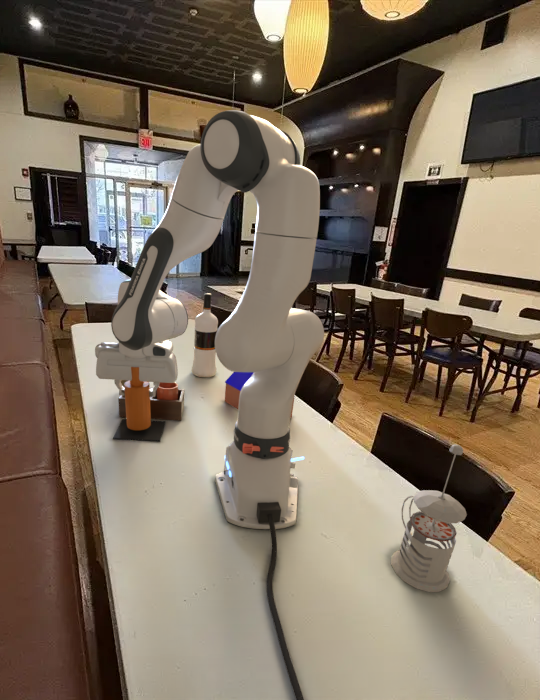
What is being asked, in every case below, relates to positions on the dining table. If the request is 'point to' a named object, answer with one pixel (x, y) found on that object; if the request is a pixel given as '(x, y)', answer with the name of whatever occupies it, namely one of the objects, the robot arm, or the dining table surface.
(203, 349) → the vodka
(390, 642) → the dining table surface
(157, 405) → the wooden condiment rack
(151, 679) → the dining table surface
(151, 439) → the mat
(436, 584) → the french press
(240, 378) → the house
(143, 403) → the bottle
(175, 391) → the rack cup
